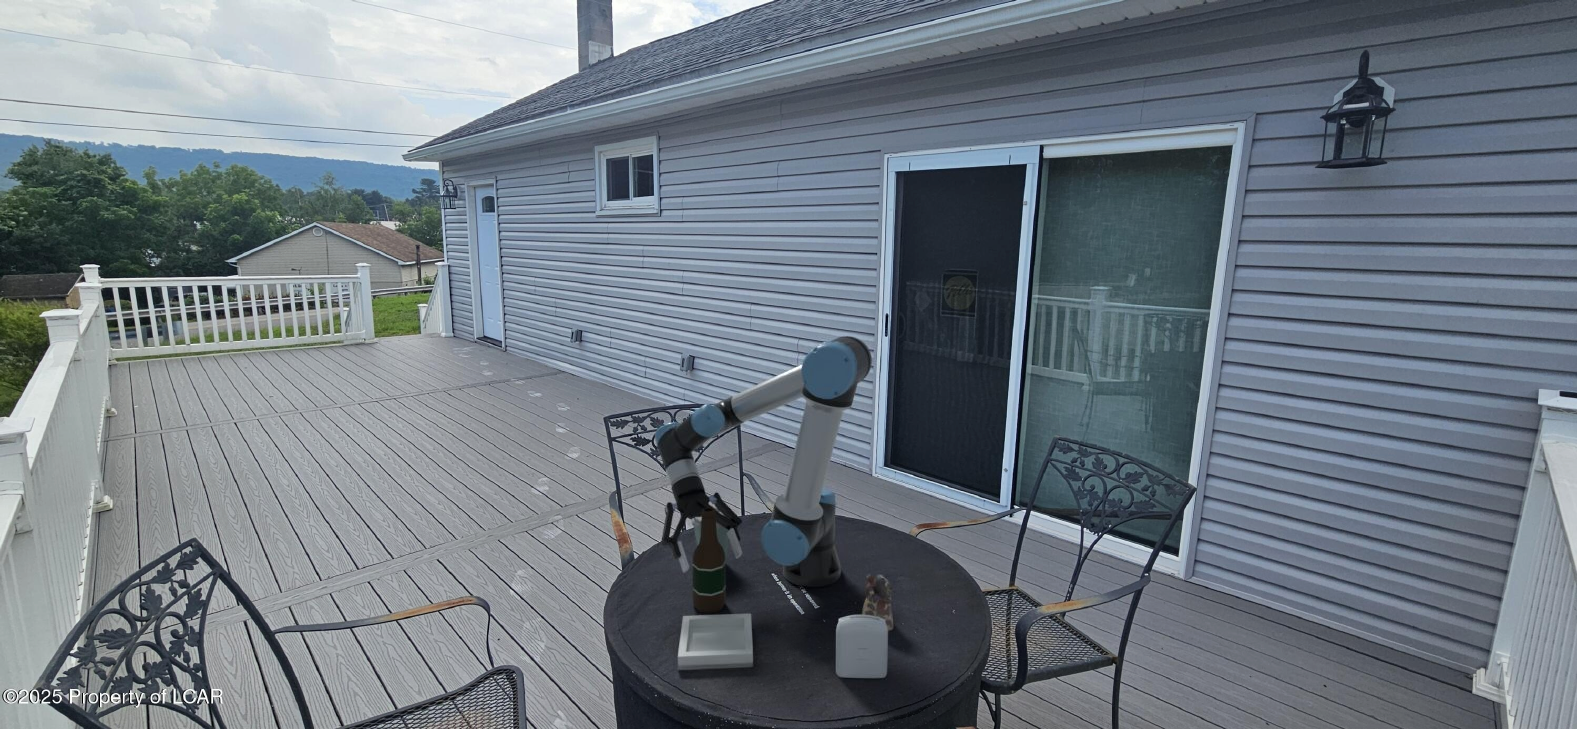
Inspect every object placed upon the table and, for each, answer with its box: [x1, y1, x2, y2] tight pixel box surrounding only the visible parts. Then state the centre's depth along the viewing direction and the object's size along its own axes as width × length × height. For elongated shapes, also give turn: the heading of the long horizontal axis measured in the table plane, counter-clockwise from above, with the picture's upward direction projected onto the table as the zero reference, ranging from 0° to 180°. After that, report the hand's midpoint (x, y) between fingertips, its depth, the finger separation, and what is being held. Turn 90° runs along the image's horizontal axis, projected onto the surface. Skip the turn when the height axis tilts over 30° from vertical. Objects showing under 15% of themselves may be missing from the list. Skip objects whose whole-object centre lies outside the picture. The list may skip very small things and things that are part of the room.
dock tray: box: [677, 613, 754, 671], centre depth 142 cm, size 15×15×3 cm
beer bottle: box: [691, 507, 727, 614], centre depth 156 cm, size 8×8×24 cm
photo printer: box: [835, 614, 889, 679], centre depth 132 cm, size 10×4×12 cm, turn 88°
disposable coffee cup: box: [690, 505, 730, 560], centre depth 177 cm, size 11×11×15 cm
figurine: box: [861, 574, 894, 632], centre depth 150 cm, size 7×7×12 cm
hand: (713, 563), depth 155 cm, fingers open, 13 cm apart
